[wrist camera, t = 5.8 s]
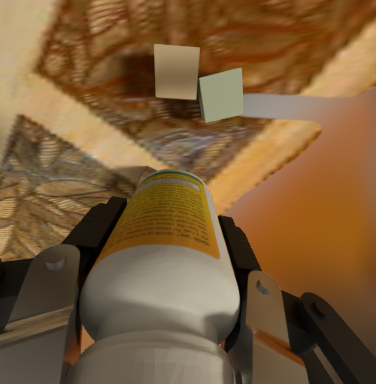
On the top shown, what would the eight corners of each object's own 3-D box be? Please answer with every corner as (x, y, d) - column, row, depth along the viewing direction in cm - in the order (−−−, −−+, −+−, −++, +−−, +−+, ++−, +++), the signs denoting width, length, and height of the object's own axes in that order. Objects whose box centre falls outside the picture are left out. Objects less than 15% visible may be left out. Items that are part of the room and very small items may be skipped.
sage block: (196, 82, 24) (199, 78, 19) (230, 74, 23) (241, 67, 19) (201, 119, 26) (205, 122, 22) (233, 112, 26) (243, 114, 21)
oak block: (159, 55, 22) (154, 44, 18) (196, 58, 23) (199, 47, 18) (160, 98, 25) (155, 96, 20) (193, 100, 25) (196, 99, 20)
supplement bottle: (224, 210, 12) (317, 459, 4) (165, 240, 13) (136, 474, 5) (183, 148, 10) (183, 433, 1) (117, 192, 11) (-82, 472, 3)
